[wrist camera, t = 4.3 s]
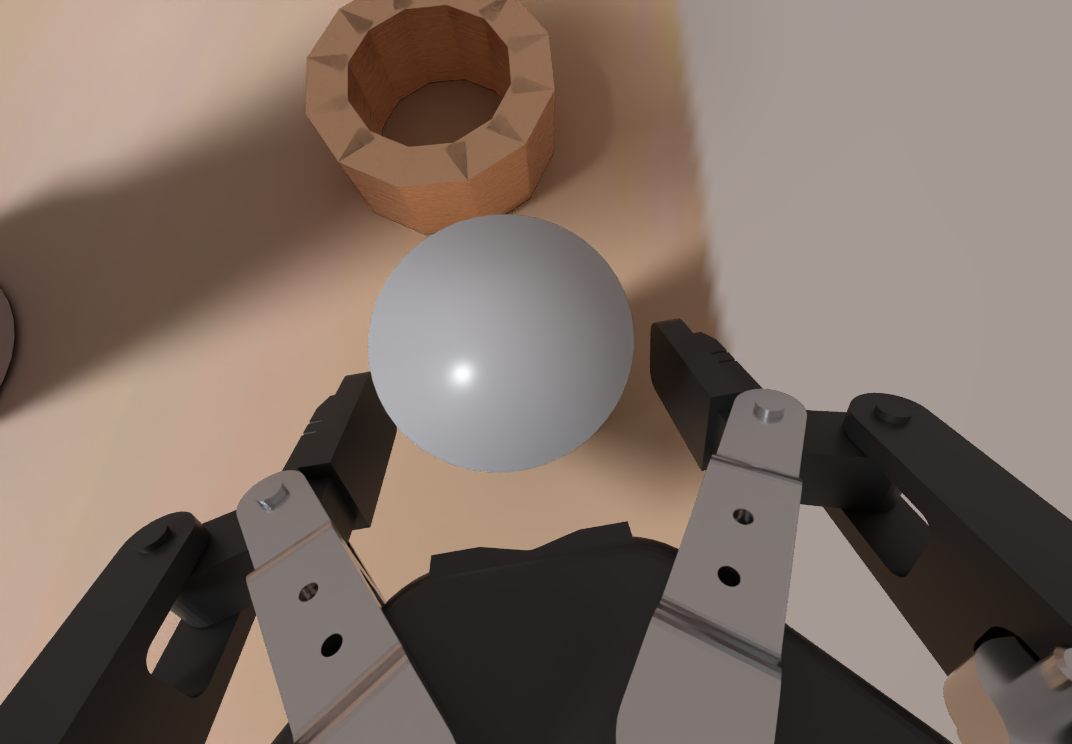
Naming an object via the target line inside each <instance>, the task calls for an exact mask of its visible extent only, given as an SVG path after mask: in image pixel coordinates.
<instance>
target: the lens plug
mask: <svg viewBox="0 0 1072 744" xmlns="http://www.w3.org/2000/svg"><path fill="white" fill-rule="evenodd" d="M633 353H634V327H633V320H632V315H631V310H630V306H629V303H628V300H627V297H626V295H625V292H624V290H623V288H622V286H621V284H620V282H619V280H618V278H617V276H616V275H615V273H614V272H613V270H612V269H611V267H610V266H609V264H608V263H607V262H606V261H605V260H604V259H603V258H602V256H601V255H600V254H599V253H598V252H597V251H596V250H595V249H594V248H593V247H591V246H590V245H589V244H588V243H587V242H585V241H584V240H583V239H581V238H580V237H578V236H577V235H575V234H574V233H572V232H571V231H569V230H566V229H564V228H562V227H560V226H558V225H556V224H553V223H551V222H548V221H545V220H542V219H538V218H533V217H528V216H522V215H511V214H501V215H487V216H481V217H475V218H471V219H468V220H464V221H460V222H458V223H455V224H453V225H450V226H448V227H445V228H443V229H442V230H440V231H438V232H436V233H434V234H433V235H431V236H429V237H428V238H426V239H425V240H424V241H422V242H421V243H420V244H418V245H417V246H416V247H415V248H413V249H412V250H411V251H410V252H409V253H408V254H407V255H406V256H405V257H404V258H403V259H402V260H401V262H400V263H399V264H398V265H397V266H396V267H395V269H394V270H393V271H392V273H391V275H390V276H389V278H388V279H387V281H386V282H385V284H384V286H383V288H382V290H381V292H380V294H379V296H378V298H377V301H376V304H375V307H374V310H373V313H372V317H371V322H370V327H369V337H368V356H369V366H370V371H371V376H372V380H373V383H374V386H375V389H376V392H377V394H378V397H379V399H380V401H381V403H382V405H383V406H384V408H385V410H386V412H387V413H388V415H389V416H390V418H391V419H392V420H393V422H394V423H395V425H396V426H397V427H398V428H399V429H400V430H401V431H402V432H403V433H404V434H405V435H406V436H407V438H408V439H410V440H411V441H412V442H413V443H415V444H416V445H417V446H419V447H420V448H421V449H422V450H424V451H426V452H427V453H429V454H431V455H432V456H434V457H436V458H438V459H440V460H442V461H445V462H447V463H450V464H452V465H454V466H458V467H462V468H466V469H469V470H474V471H483V472H513V471H520V470H527V469H531V468H534V467H537V466H541V465H544V464H547V463H549V462H551V461H554V460H556V459H558V458H560V457H563V456H564V455H566V454H567V453H569V452H571V451H572V450H574V449H576V448H577V447H579V446H580V445H581V444H582V443H584V442H585V441H586V440H587V439H588V438H590V437H591V436H592V435H593V434H594V433H595V432H596V431H597V430H598V429H599V428H600V427H601V426H602V424H603V423H604V422H605V421H606V420H607V418H608V417H609V415H610V414H611V413H612V411H613V410H614V408H615V407H616V405H617V403H618V401H619V399H620V397H621V395H622V393H623V392H624V389H625V386H626V383H627V380H628V378H629V375H630V370H631V365H632V361H633Z"/></svg>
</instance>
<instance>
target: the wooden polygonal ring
mask: <svg viewBox="0 0 1072 744" xmlns="http://www.w3.org/2000/svg"><path fill="white" fill-rule="evenodd" d="M460 79H465V80H467V81H470V82H473V83H475V84H478V85H481V86H483V87H486V88H488V89H491V90H494V91H495V92H496V93H497V94H498V95H499V96H500V98H501V99H502V101H501V103H500V105H499V107H498V108H497V110H496V112H495V114H494V116H493V117H492V119H491V120H489V121H488V122H486V123H485V124H483V125H481V126H480V127H478V128H476V129H475V130H473V131H472V132H470V133H468V134H467V135H465V136H464V137H462V138H460V139H459V140H457V141H456V142H454V143H444V144H434V145H423V146H413V147H408V146H405V145H403V144H400V143H398V142H395V141H393V140H391V139H388V138H386V137H383V136H382V128H383V126H384V125H385V123H386V121H387V120H388V118H389V116H390V115H391V113H392V112H393V110H394V108H395V107H396V105H397V103H398V102H399V100H401V99H403V98H404V97H406V96H407V95H409V94H411V93H412V92H414V91H416V90H417V89H419V88H421V87H422V86H424V85H426V84H427V83H430V82H440V81H450V80H460ZM554 109H555V87H554V78H553V69H552V60H551V50H550V41H549V33H548V32H547V31H546V30H545V29H544V28H543V26H542V25H541V24H540V23H539V22H538V21H537V20H536V18H535V17H534V16H533V15H532V14H531V13H530V11H529V10H528V9H527V8H526V7H525V6H524V5H523V3H522V2H521V1H520V0H354V1H352V2H350V3H349V4H347V5H345V6H343V7H342V8H340V9H339V10H338V12H337V13H336V15H335V16H334V18H333V19H332V21H331V22H330V24H329V25H328V27H327V28H326V30H325V31H324V33H323V34H322V36H321V37H320V39H319V40H318V42H317V43H316V45H315V46H314V48H313V49H312V51H311V53H310V54H309V56H308V57H307V76H306V115H307V117H308V118H309V120H310V121H311V123H312V124H313V126H314V127H315V128H316V130H317V131H318V133H319V134H320V136H321V137H322V139H323V140H324V142H325V143H326V145H327V146H328V148H329V149H330V151H331V152H332V153H333V155H334V156H335V158H336V159H337V161H338V162H339V164H340V165H341V167H342V168H343V169H344V171H345V172H346V173H347V175H348V176H349V177H350V179H351V180H352V181H353V183H354V184H355V186H356V187H357V188H358V190H359V191H360V192H361V194H362V195H363V196H364V198H365V199H366V201H367V202H368V203H369V205H370V206H371V207H372V209H373V210H374V211H375V213H377V214H379V215H382V216H384V217H386V218H389V219H391V220H393V221H396V222H398V223H400V224H403V225H405V226H407V227H410V228H412V229H414V230H416V231H419V232H421V233H423V234H434V233H436V232H438V231H440V230H442V229H443V228H445V227H448V226H450V225H453V224H455V223H458V222H460V221H464V220H468V219H471V218H475V217H481V216H487V215H501V214H506V213H508V212H510V211H511V210H513V209H514V208H516V207H517V206H519V205H520V204H522V203H523V202H525V201H527V200H528V199H530V197H531V195H532V193H533V191H534V189H535V187H536V185H537V184H538V182H539V180H540V178H541V176H542V174H543V172H544V170H545V168H546V166H547V164H548V162H549V160H550V158H551V157H552V155H553V153H554Z"/></svg>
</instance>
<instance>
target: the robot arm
mask: <svg viewBox="0 0 1072 744" xmlns="http://www.w3.org/2000/svg"><path fill="white" fill-rule="evenodd" d="M14 338H15V336H14V320H13V315H12V312H11V309H10V306H9V302H8V300H7V298H6V297H5V295H4V294H3V292H2V291H1V289H0V385H1V383H2V381H3V380H4V377H5V374H6V372H7V369H8V366H9V363H10V361H11V357H12V351H13V345H14ZM650 374H651V379H652V383H653V386H654V388H655V390H656V392H657V394H658V396H659V397H660V399H661V401H662V403H663V404H664V406H665V408H666V410H667V411H668V413H669V415H670V417H671V418H672V420H673V422H674V424H675V425H676V427H677V429H678V431H679V432H680V434H681V436H682V438H683V439H684V441H685V443H686V445H687V446H688V448H689V450H690V452H691V453H692V455H693V457H694V459H695V460H696V462H697V464H698V466H699V467H700V469H701V471H704V470H706V473H705V476H704V479H703V482H702V485H701V488H700V490H699V493H698V496H697V499H696V502H695V505H694V508H693V510H692V513H691V516H690V519H689V522H688V525H687V528H686V531H685V533H684V536H683V539H682V542H681V545H680V548H679V549H677V548H675V547H672V546H670V545H668V544H665V543H662V542H659V541H656V540H652V539H647V538H642V537H632V534H631V531H630V527H629V524H628V521H627V522H621V523H615V524H610V525H604V526H598V527H592V528H587V529H581V530H578V531H575V532H573V533H571V534H568V535H566V536H564V537H561V538H559V539H557V540H554V541H552V542H550V543H548V544H545V545H543V546H541V547H538V548H536V549H533V550H512V549H499V548H485V547H477V548H471V549H466V550H460V551H454V552H448V553H443V554H437V555H431V563H430V571H429V573H427V574H425V575H423V576H421V577H419V578H417V579H416V580H414V581H412V582H411V583H409V584H408V585H406V586H405V587H404V588H402V589H401V590H400V591H398V592H397V593H396V594H395V595H394V596H393V597H391V598H390V599H389V600H388V601H387V602H386V600H385V599H384V597H383V595H382V594H381V592H380V591H379V589H378V587H377V586H376V584H375V582H374V581H373V579H372V577H371V576H370V574H369V572H368V571H367V569H366V568H365V566H364V564H363V563H362V561H361V559H360V558H359V556H358V554H357V553H356V551H355V549H354V548H353V546H352V545H351V543H350V542H349V538H350V535H351V532H352V530H357V529H362V528H368V527H370V526H371V523H372V519H373V515H374V512H375V508H376V505H377V501H378V497H379V494H380V490H381V486H382V483H383V479H384V476H385V472H386V468H387V465H388V461H389V458H390V454H391V450H392V447H393V443H394V440H395V436H396V432H397V426H396V425H395V423H394V422H393V420H392V419H391V418H390V416H389V415H388V413H387V412H386V410H385V408H384V406H383V405H382V403H381V401H380V399H379V397H378V394H377V392H376V389H375V386H374V383H373V380H372V376H371V372H365V373H359V374H353V375H348V376H345V377H344V379H343V381H342V383H341V385H340V387H339V389H338V391H337V392H336V394H335V395H332V396H330V397H329V398H328V399H327V400H325V401H324V402H323V403H322V404H321V405H320V406H319V407H318V408H317V409H316V411H315V413H314V415H313V416H312V418H311V420H310V424H308V425H307V427H306V429H305V431H304V435H303V436H301V438H300V440H299V442H298V443H297V445H296V447H295V449H294V450H293V452H292V454H291V456H290V458H289V459H288V461H287V463H286V465H285V467H284V468H283V470H282V472H278V473H275V474H273V475H271V476H268V477H267V478H265V479H263V480H261V481H260V482H258V483H257V484H256V485H254V486H253V487H252V488H251V489H250V490H248V492H247V493H246V494H245V495H244V496H243V497H242V499H241V500H240V502H239V504H238V506H237V510H235V511H233V512H230V513H228V514H225V515H223V516H220V517H218V518H215V519H213V520H210V521H208V522H206V523H203V524H201V523H200V522H199V521H198V520H197V519H196V518H195V517H194V516H193V515H192V514H191V513H189V512H175V513H171V514H168V515H165V516H163V517H161V518H159V519H156V520H155V521H153V522H151V523H149V524H148V525H146V526H145V527H143V528H142V529H140V530H139V531H138V532H136V533H135V534H134V535H133V536H132V537H130V538H129V539H128V540H127V541H126V542H125V543H124V545H123V546H122V547H121V548H120V549H119V551H118V552H117V553H116V555H115V556H114V557H113V559H112V560H111V561H110V563H109V564H108V565H107V566H106V568H105V569H104V570H103V572H102V573H101V574H100V576H99V577H98V578H97V580H96V581H95V582H94V583H93V585H92V586H91V587H90V589H89V590H88V591H87V593H86V594H85V595H84V597H83V598H82V599H81V601H80V602H79V603H78V604H77V606H76V607H75V608H74V610H73V611H72V612H71V614H70V615H69V616H68V618H67V619H66V620H65V622H64V623H63V624H62V625H61V627H60V628H59V629H58V631H57V632H56V633H55V635H54V636H53V637H52V639H51V640H50V641H49V642H48V644H47V645H46V646H45V648H44V649H43V650H42V652H41V653H40V654H39V656H38V657H37V658H36V660H35V661H34V662H33V663H32V665H31V666H30V667H29V669H28V670H27V671H26V673H25V674H24V675H23V677H22V678H21V679H20V680H19V682H18V683H17V684H16V686H15V687H14V688H13V690H12V691H11V692H10V694H9V695H8V696H7V698H6V699H5V700H4V701H3V703H2V704H1V705H0V744H205V742H206V739H207V737H208V734H209V732H210V729H211V727H212V724H213V722H214V719H215V717H216V714H217V712H218V709H219V707H220V704H221V702H222V699H223V697H224V694H225V692H226V689H227V687H228V684H229V682H230V679H231V677H232V674H233V672H234V669H235V667H236V664H237V662H238V659H239V656H240V654H241V651H242V649H243V646H244V644H245V641H246V639H247V636H248V634H249V631H250V629H251V626H252V624H253V621H254V619H255V616H257V619H258V622H259V625H260V629H261V632H262V635H263V639H264V642H265V645H266V649H267V652H268V655H269V658H270V662H271V665H272V668H273V672H274V675H275V678H276V682H277V685H278V688H279V692H280V695H281V698H282V701H283V705H284V708H285V711H286V715H287V718H288V721H289V722H288V723H287V725H286V726H285V727H284V728H283V730H282V731H281V732H280V733H279V735H278V736H277V737H276V738H275V739H274V741H273V742H272V743H271V744H953V743H951V742H950V741H949V740H948V739H946V738H945V737H943V736H942V735H941V734H940V733H938V732H937V731H935V730H934V729H933V728H931V727H930V726H928V725H927V724H926V723H924V722H923V721H921V720H920V719H919V718H917V717H916V716H914V715H913V714H912V713H910V712H909V711H907V710H906V709H905V708H903V707H902V706H900V705H899V704H898V703H896V702H895V701H893V700H892V699H891V698H889V697H888V696H886V695H885V694H884V693H882V692H881V691H879V690H878V689H877V688H875V687H874V686H872V685H871V684H870V683H868V682H866V681H865V680H864V679H863V678H861V677H860V676H858V675H857V674H855V673H854V672H853V671H851V670H850V669H849V668H847V667H846V666H844V665H843V664H842V663H840V662H839V661H837V660H836V659H834V658H833V657H832V656H830V655H829V654H827V653H826V652H825V651H823V650H822V649H820V648H819V647H818V646H816V645H815V644H814V643H812V642H811V641H809V640H808V639H807V638H805V637H804V636H802V635H801V634H800V633H798V632H796V631H795V630H794V629H793V628H791V627H790V626H788V625H787V624H786V623H785V619H786V611H787V603H788V595H789V587H790V579H791V571H792V562H793V554H794V547H795V539H796V531H797V523H798V514H799V507H800V504H805V505H813V506H823V507H824V509H825V510H826V512H827V513H828V514H829V516H830V517H831V519H832V520H833V521H834V523H835V524H836V525H837V527H838V528H839V529H840V530H841V532H842V533H843V535H844V536H845V537H846V539H847V540H848V542H849V543H850V544H851V545H852V547H853V548H854V550H855V551H856V552H857V554H858V555H859V556H860V558H861V559H862V560H863V562H864V563H865V565H866V566H867V567H868V569H869V570H870V571H871V572H872V574H873V575H874V577H875V578H876V580H877V581H878V582H879V583H880V585H881V586H882V588H883V589H884V590H885V592H886V593H887V594H888V596H889V597H890V599H891V600H892V601H893V603H894V604H895V605H896V607H897V608H898V609H899V611H900V612H901V614H902V615H903V616H904V617H905V619H906V620H907V622H908V623H909V624H910V626H911V627H912V628H913V630H914V631H915V633H916V634H917V635H918V637H919V638H920V639H921V641H922V642H923V643H924V645H925V646H926V647H927V649H928V650H929V652H930V653H931V654H932V656H933V657H934V658H935V660H936V661H937V662H938V664H939V665H940V666H941V668H942V669H943V670H944V672H945V673H946V675H947V676H948V677H947V679H946V681H945V683H944V688H943V693H944V700H945V704H946V707H947V710H948V712H949V715H950V717H951V718H952V720H953V722H954V724H955V725H956V727H957V734H958V737H959V739H960V741H961V743H962V744H1072V521H1071V520H1070V519H1069V518H1067V517H1066V516H1065V515H1063V514H1062V513H1061V512H1060V511H1058V510H1057V509H1056V508H1054V507H1053V506H1052V505H1050V504H1049V503H1048V502H1047V501H1045V500H1044V499H1043V498H1041V497H1040V496H1039V495H1038V494H1036V493H1035V492H1034V491H1032V490H1031V489H1030V488H1028V487H1027V486H1026V485H1025V484H1023V483H1022V482H1021V481H1019V480H1018V479H1017V478H1015V477H1014V476H1013V475H1012V474H1010V473H1009V472H1008V471H1006V470H1005V469H1004V468H1002V467H1001V466H1000V465H999V464H997V463H996V462H995V461H993V460H992V459H991V458H989V457H988V456H987V455H986V454H984V453H983V452H982V451H980V450H979V449H978V448H977V447H975V446H974V445H973V444H971V443H970V442H969V441H967V440H966V439H965V438H964V437H962V436H961V435H960V434H958V433H957V432H956V431H955V430H953V429H952V428H950V427H949V426H948V425H947V424H946V423H944V422H943V421H942V420H940V419H939V418H938V417H936V416H935V415H934V414H933V413H931V412H930V411H929V410H927V409H926V408H924V407H923V406H921V405H919V404H917V403H916V402H913V401H911V400H909V399H906V398H903V397H899V396H895V395H890V394H884V393H867V394H863V395H860V396H857V397H855V398H854V399H853V400H852V401H851V403H850V405H849V408H848V410H847V412H829V411H811V410H806V409H805V408H804V406H803V405H802V404H801V403H800V402H799V401H798V400H797V399H795V398H793V397H792V396H790V395H788V394H785V393H782V392H779V391H775V390H770V389H762V387H761V386H760V385H759V384H758V383H757V382H756V381H755V380H754V379H753V378H752V377H751V376H750V375H749V374H748V373H747V372H746V370H745V369H744V368H743V367H742V366H741V365H740V364H739V363H738V362H737V361H735V359H734V358H733V357H732V356H731V355H730V353H729V352H726V349H725V348H724V347H723V346H722V345H721V344H720V343H719V342H718V341H717V340H716V339H714V338H712V337H710V336H708V335H706V334H704V333H702V332H699V333H692V331H691V330H690V329H689V328H688V327H687V326H686V324H685V323H684V322H683V321H682V320H681V319H673V320H668V321H662V322H656V323H653V324H652V326H651V340H650ZM902 493H903V494H904V495H905V496H906V497H907V498H908V499H909V500H910V501H911V503H912V504H913V505H914V506H915V507H916V508H917V509H918V510H919V511H920V512H921V513H922V514H923V515H924V517H925V518H926V520H927V522H928V524H929V526H928V525H927V524H926V522H925V521H924V520H923V519H922V518H921V517H920V516H919V515H918V514H917V513H916V512H915V511H914V510H913V509H912V508H911V507H910V506H909V505H908V504H907V502H905V500H903V498H902V497H901V496H900V495H901V494H902ZM170 610H171V611H172V612H173V613H175V614H176V615H177V616H179V617H180V618H181V621H180V622H179V624H178V626H177V628H176V630H175V632H174V634H173V635H172V637H171V639H170V641H169V643H168V645H167V647H166V648H165V650H164V652H163V654H162V656H161V658H160V660H159V661H158V663H157V665H156V667H155V669H154V671H153V673H152V674H150V673H149V671H148V669H147V665H146V658H147V652H148V649H149V647H150V645H151V643H152V641H153V639H154V637H155V636H156V634H157V632H158V630H159V629H160V627H161V625H162V623H163V622H164V620H165V618H166V616H167V615H168V613H169V611H170Z"/></svg>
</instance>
